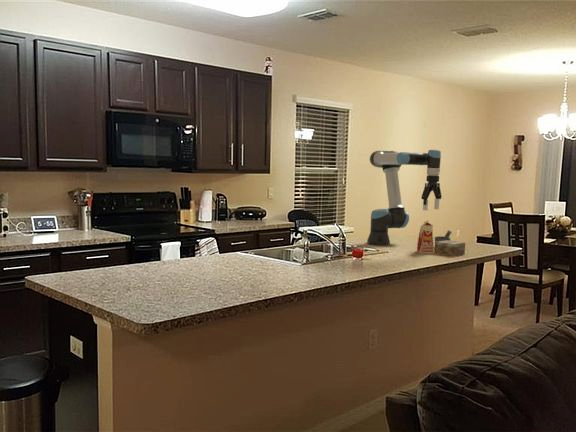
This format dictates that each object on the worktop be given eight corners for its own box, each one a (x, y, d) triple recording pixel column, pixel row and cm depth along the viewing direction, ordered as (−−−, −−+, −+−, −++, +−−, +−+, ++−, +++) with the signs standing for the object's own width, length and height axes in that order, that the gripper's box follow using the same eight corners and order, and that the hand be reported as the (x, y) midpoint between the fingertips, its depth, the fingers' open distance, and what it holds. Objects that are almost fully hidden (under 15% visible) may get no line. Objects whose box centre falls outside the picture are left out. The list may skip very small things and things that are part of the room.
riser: (434, 253, 325) (434, 241, 324) (445, 251, 334) (446, 240, 333) (453, 256, 315) (454, 244, 314) (464, 254, 324) (465, 242, 323)
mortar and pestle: (431, 247, 349) (432, 229, 348) (439, 246, 355) (440, 228, 354) (446, 249, 340) (447, 231, 339) (454, 248, 346) (455, 230, 345)
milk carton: (434, 253, 323) (436, 221, 321) (419, 253, 323) (421, 220, 321) (430, 251, 332) (432, 219, 330) (416, 250, 332) (417, 219, 330)
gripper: (428, 175, 312) (425, 211, 314) (448, 175, 330) (446, 209, 332) (416, 174, 317) (414, 210, 319) (437, 175, 335) (435, 208, 337)
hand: (430, 209), depth 326 cm, fingers open, 13 cm apart
